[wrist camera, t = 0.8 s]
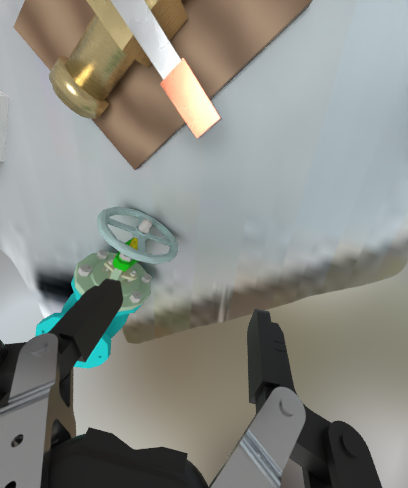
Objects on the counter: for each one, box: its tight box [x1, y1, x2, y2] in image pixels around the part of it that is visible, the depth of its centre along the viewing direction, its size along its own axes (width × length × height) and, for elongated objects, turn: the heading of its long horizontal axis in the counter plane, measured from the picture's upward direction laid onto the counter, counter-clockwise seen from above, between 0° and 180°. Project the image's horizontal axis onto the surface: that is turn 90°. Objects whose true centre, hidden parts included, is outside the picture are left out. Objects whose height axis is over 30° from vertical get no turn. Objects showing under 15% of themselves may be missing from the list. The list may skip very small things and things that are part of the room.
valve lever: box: [111, 0, 222, 138], centre depth 16 cm, size 3×16×3 cm, turn 37°
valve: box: [35, 207, 178, 368], centre depth 38 cm, size 14×18×30 cm
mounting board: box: [14, 0, 312, 170], centre depth 24 cm, size 30×22×2 cm
